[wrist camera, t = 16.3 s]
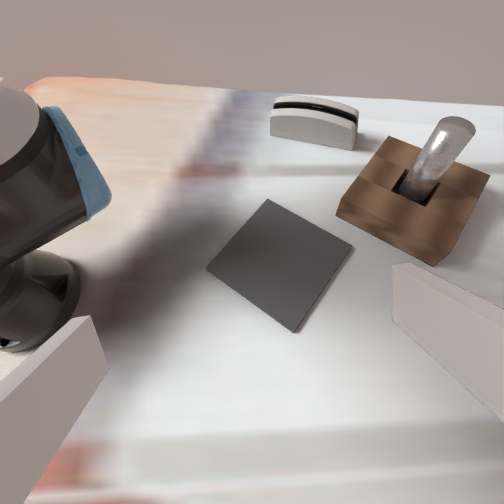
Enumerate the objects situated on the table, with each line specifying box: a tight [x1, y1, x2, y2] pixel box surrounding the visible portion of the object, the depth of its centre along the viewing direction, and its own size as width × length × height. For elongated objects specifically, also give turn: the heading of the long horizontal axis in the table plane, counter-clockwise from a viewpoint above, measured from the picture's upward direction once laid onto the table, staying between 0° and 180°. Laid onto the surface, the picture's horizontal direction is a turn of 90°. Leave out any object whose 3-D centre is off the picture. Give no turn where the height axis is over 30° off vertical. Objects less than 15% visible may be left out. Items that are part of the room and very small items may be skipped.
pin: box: [396, 116, 476, 205], centre depth 39 cm, size 4×4×15 cm
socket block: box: [335, 136, 490, 267], centre depth 43 cm, size 16×16×4 cm
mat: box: [206, 199, 352, 333], centre depth 42 cm, size 16×16×1 cm
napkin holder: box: [270, 96, 359, 151], centre depth 50 cm, size 17×5×10 cm, turn 70°
